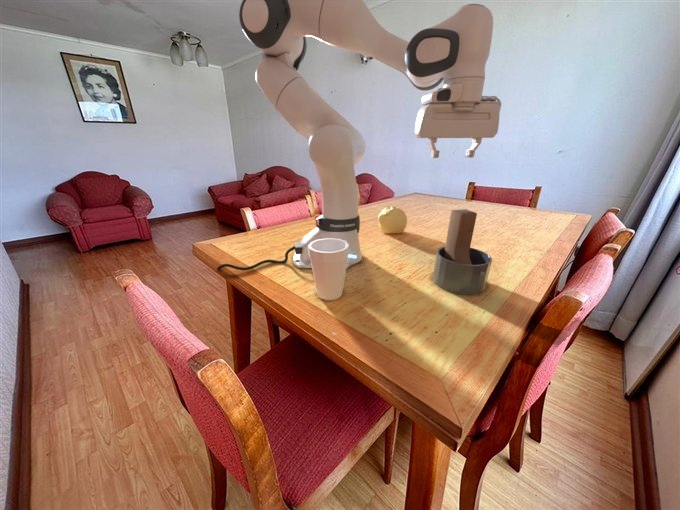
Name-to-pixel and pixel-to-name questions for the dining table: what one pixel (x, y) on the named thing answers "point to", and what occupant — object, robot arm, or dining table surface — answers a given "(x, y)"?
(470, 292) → the grey short cylinder
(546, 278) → the dining table surface
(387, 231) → the sculpture
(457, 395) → the dining table surface
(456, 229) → the wooden block
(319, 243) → the foam cup
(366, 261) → the dining table surface
